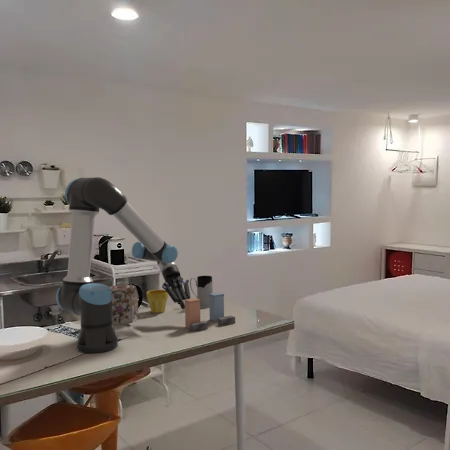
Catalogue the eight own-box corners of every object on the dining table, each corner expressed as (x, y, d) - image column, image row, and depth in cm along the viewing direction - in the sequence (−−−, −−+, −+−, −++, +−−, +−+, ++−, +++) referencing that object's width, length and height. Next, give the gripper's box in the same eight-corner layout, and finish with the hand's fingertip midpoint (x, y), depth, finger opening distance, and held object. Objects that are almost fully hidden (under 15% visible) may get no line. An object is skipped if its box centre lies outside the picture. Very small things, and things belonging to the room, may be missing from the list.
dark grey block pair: (188, 336, 192) (188, 326, 191) (172, 328, 203) (171, 319, 203) (240, 325, 206) (240, 316, 206) (222, 318, 218) (222, 309, 218)
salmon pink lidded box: (190, 329, 197) (189, 301, 196) (185, 326, 201) (184, 299, 200) (200, 326, 200) (200, 299, 199) (195, 324, 204) (195, 297, 203)
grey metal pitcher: (206, 309, 235) (205, 279, 234) (184, 305, 243) (184, 276, 242) (217, 305, 242) (216, 276, 240) (196, 301, 250) (195, 273, 249)
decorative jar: (138, 318, 220) (137, 279, 219) (133, 325, 209) (132, 285, 207) (113, 318, 221) (111, 280, 219) (106, 325, 209) (104, 285, 208)
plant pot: (147, 309, 237) (147, 289, 236) (168, 308, 238) (168, 289, 237) (146, 314, 226) (146, 294, 226) (168, 313, 227) (167, 293, 227)
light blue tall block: (214, 321, 207) (214, 295, 207) (209, 319, 211) (209, 293, 210) (224, 319, 210) (224, 293, 209) (219, 317, 214) (218, 292, 213)
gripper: (179, 273, 221) (198, 316, 209) (154, 277, 214) (172, 321, 201) (184, 263, 216) (205, 307, 204) (159, 266, 209) (178, 311, 197)
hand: (188, 314), depth 203 cm, fingers closed
